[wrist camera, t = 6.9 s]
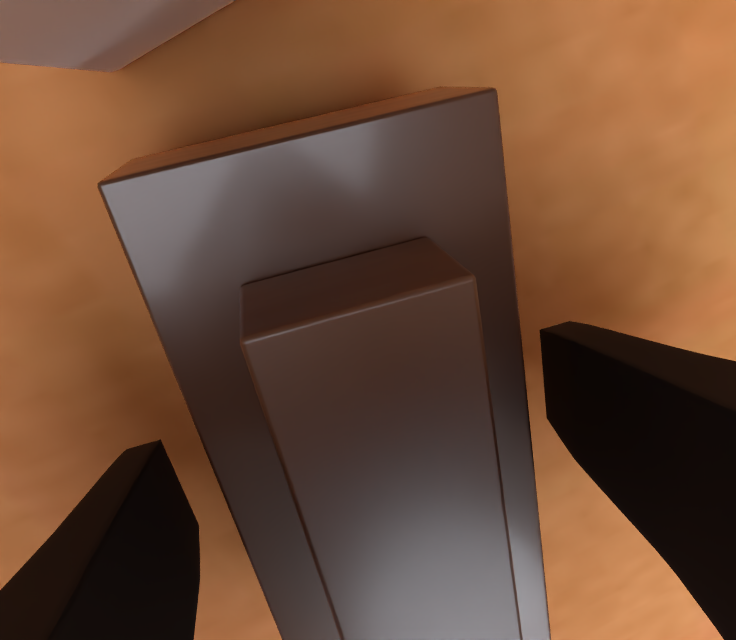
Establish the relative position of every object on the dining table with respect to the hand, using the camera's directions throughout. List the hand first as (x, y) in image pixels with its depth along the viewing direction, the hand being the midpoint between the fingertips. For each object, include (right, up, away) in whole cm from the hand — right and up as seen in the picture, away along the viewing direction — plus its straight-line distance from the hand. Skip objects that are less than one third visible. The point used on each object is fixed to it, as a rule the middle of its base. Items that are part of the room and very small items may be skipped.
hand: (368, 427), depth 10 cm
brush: (0, 0, +1) cm, 1 cm away
